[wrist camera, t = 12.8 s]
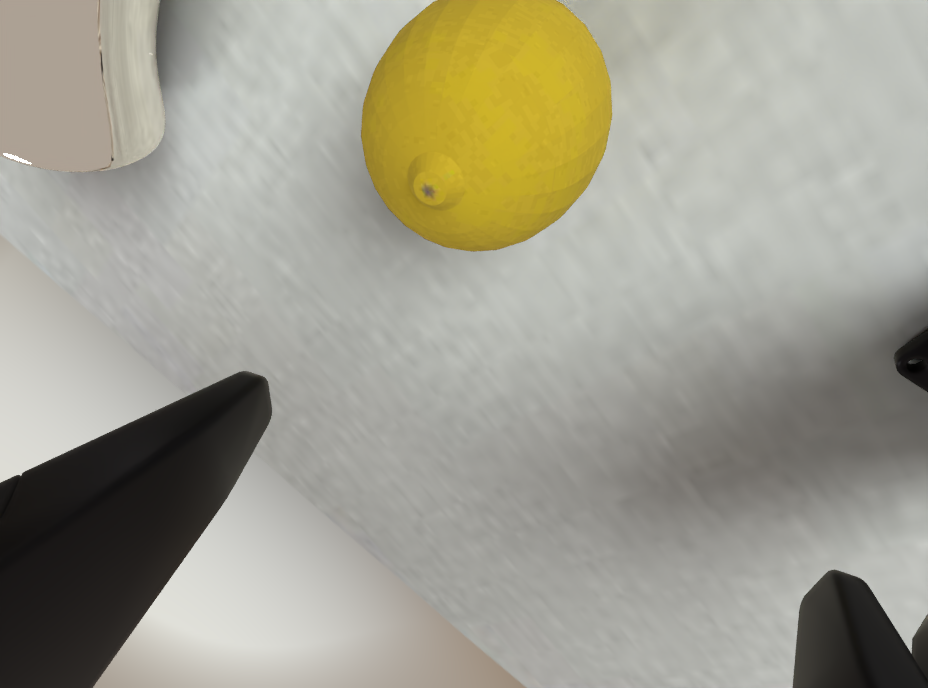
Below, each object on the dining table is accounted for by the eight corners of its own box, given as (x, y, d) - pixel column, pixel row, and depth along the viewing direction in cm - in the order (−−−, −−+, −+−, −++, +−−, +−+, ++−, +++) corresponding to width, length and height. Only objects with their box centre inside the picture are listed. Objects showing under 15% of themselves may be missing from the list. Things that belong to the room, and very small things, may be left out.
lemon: (405, 41, 18) (247, 136, 12) (567, -92, 15) (455, -48, 9) (506, 197, 20) (411, 343, 14) (668, 109, 17) (630, 251, 11)
